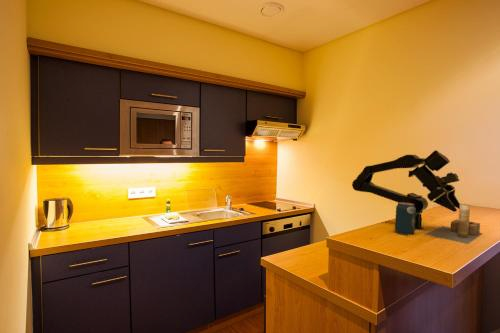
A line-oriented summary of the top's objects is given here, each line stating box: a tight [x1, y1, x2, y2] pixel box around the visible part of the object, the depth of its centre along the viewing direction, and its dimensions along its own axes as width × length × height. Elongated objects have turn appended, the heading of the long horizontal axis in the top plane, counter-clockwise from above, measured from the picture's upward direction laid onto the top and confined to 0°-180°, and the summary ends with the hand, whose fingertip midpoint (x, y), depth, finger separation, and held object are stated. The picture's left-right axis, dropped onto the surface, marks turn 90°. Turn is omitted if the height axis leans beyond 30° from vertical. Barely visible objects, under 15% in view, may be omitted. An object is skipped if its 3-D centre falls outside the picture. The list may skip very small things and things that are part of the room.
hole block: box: [450, 218, 481, 236], centre depth 117 cm, size 8×8×4 cm
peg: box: [458, 203, 471, 238], centre depth 110 cm, size 3×3×12 cm
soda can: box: [394, 202, 416, 236], centre depth 114 cm, size 7×7×12 cm
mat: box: [424, 225, 483, 245], centre depth 114 cm, size 22×14×1 cm, turn 130°
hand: (458, 209), depth 111 cm, fingers open, 9 cm apart
